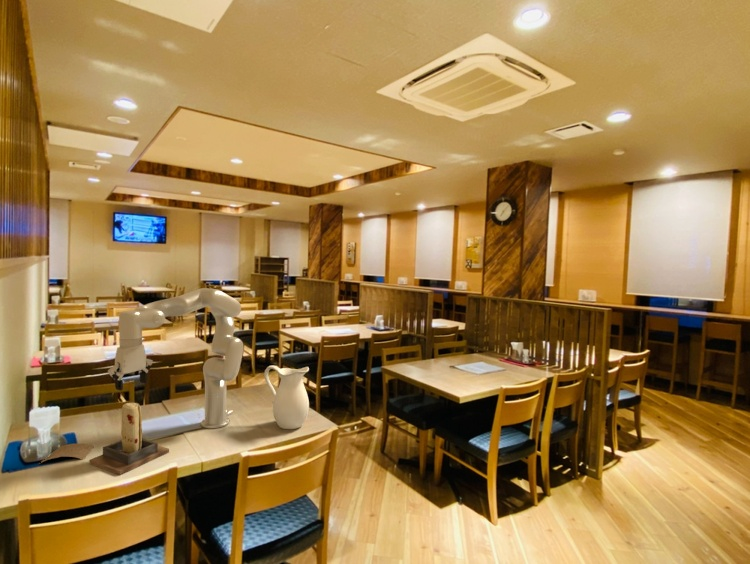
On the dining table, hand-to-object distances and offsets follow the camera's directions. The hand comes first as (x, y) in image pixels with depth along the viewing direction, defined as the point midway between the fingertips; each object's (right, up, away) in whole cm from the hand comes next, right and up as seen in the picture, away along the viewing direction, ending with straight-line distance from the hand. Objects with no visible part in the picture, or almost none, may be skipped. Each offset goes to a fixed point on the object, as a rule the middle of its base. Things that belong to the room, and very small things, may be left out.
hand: (131, 386), depth 157 cm
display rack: (-1, -28, +1) cm, 28 cm away
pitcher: (+51, -28, +39) cm, 70 cm away
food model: (-1, -27, +1) cm, 27 cm away
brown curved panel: (-26, -28, +1) cm, 39 cm away
